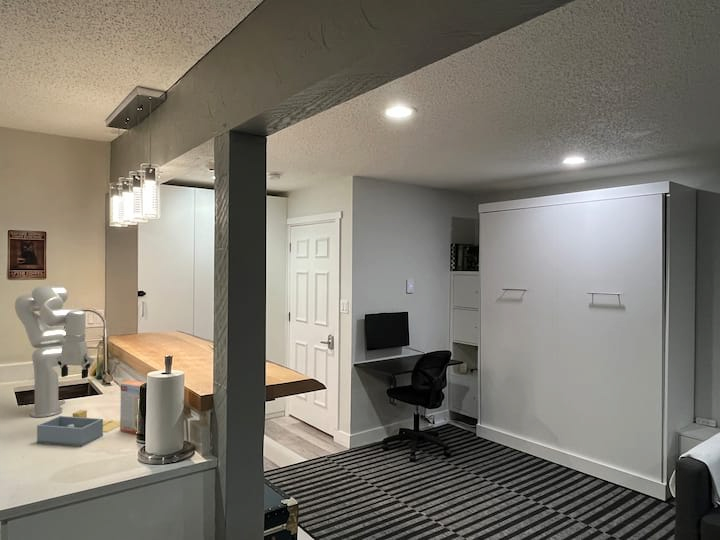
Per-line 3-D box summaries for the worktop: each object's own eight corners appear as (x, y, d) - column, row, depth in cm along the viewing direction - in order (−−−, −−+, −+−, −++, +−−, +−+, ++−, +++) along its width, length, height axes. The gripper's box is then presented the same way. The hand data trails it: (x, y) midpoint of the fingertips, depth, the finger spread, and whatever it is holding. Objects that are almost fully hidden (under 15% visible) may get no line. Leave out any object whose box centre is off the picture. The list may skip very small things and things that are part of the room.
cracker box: (154, 431, 206) (154, 383, 206) (142, 436, 201) (143, 386, 200) (131, 426, 212) (131, 379, 212) (119, 431, 207) (119, 382, 206)
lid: (64, 430, 208) (64, 416, 208) (85, 420, 220) (85, 407, 220) (107, 433, 205) (107, 418, 205) (126, 423, 217) (126, 409, 217)
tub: (37, 442, 192) (37, 425, 192) (59, 432, 204) (60, 416, 204) (82, 446, 189) (82, 428, 189) (102, 435, 201) (102, 418, 201)
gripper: (50, 339, 210) (50, 377, 210) (87, 341, 207) (86, 380, 208) (63, 336, 217) (63, 373, 218) (99, 338, 215) (98, 376, 215)
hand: (74, 377), depth 213 cm, fingers open, 9 cm apart
